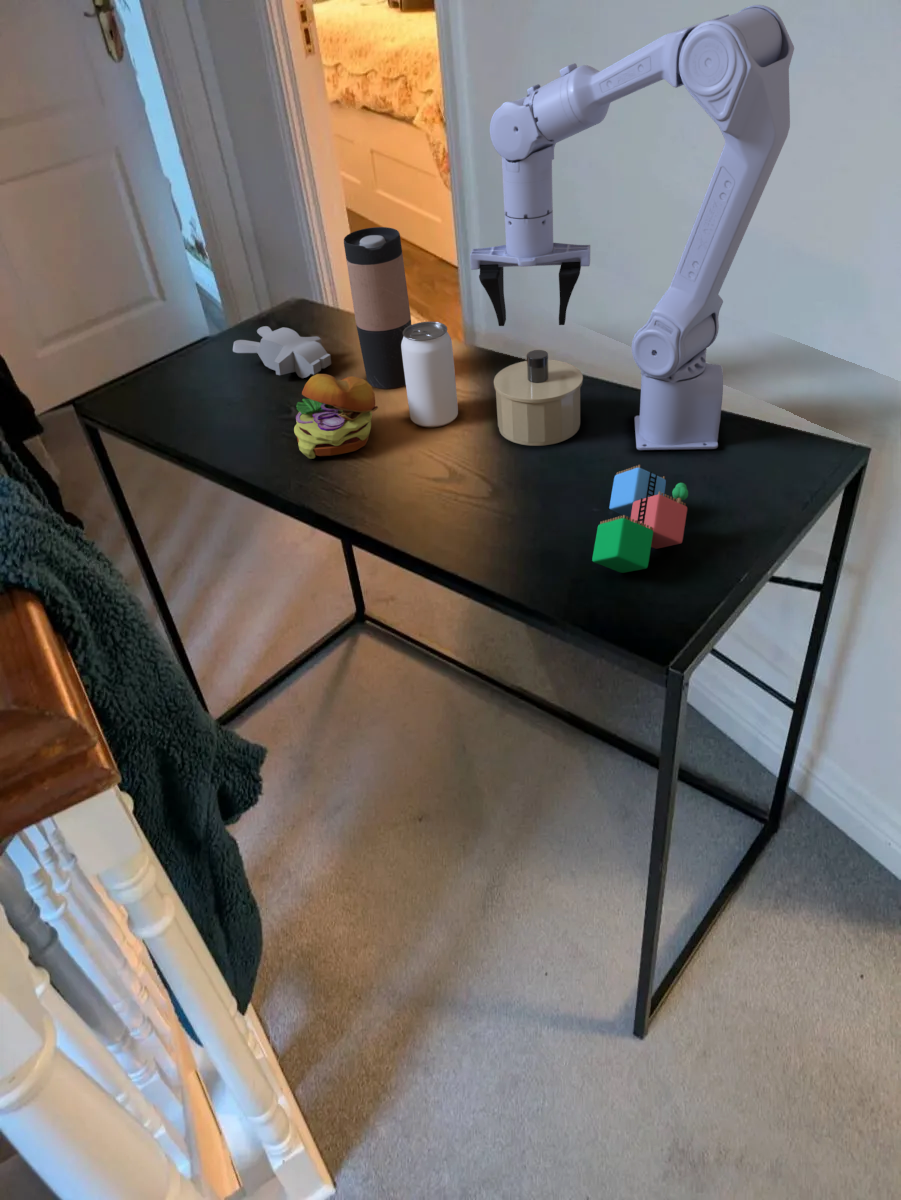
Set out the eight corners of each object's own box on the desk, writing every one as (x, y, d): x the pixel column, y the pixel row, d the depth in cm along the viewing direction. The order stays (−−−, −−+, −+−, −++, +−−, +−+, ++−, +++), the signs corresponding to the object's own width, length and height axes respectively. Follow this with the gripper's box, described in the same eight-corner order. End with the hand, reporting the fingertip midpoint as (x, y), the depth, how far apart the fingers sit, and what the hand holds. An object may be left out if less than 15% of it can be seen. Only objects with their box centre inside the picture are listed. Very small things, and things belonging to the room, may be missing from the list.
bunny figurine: (298, 362, 127) (223, 333, 133) (302, 394, 130) (228, 365, 137) (341, 337, 133) (267, 310, 139) (344, 368, 136) (271, 341, 142)
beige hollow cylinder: (580, 405, 118) (580, 362, 114) (579, 445, 110) (579, 400, 106) (502, 407, 120) (499, 365, 116) (495, 446, 112) (492, 402, 108)
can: (453, 429, 116) (444, 341, 109) (405, 428, 118) (393, 341, 110) (463, 405, 121) (455, 319, 113) (416, 405, 122) (406, 320, 115)
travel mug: (387, 362, 134) (367, 224, 121) (428, 372, 130) (412, 230, 117) (354, 383, 129) (330, 241, 117) (395, 394, 126) (375, 248, 113)
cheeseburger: (276, 448, 116) (274, 371, 111) (339, 433, 123) (340, 360, 118) (327, 470, 110) (327, 390, 106) (390, 453, 117) (393, 377, 113)
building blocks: (625, 589, 95) (642, 485, 98) (679, 580, 88) (696, 468, 91) (566, 567, 92) (586, 459, 94) (618, 555, 85) (638, 440, 87)
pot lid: (572, 362, 116) (572, 330, 113) (591, 401, 107) (592, 367, 105) (488, 373, 116) (486, 341, 113) (500, 412, 107) (498, 379, 104)
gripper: (462, 224, 104) (471, 336, 113) (588, 219, 102) (587, 334, 110) (472, 206, 110) (479, 314, 118) (591, 201, 107) (590, 311, 116)
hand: (532, 322), depth 115 cm, fingers open, 7 cm apart
